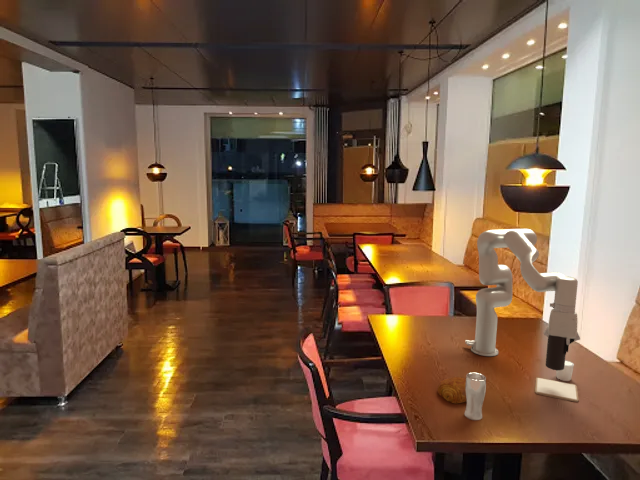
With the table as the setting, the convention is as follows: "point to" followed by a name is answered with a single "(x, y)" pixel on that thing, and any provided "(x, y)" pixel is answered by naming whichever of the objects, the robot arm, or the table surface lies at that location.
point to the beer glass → (474, 395)
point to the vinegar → (555, 352)
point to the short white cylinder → (565, 371)
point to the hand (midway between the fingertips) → (560, 352)
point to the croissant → (453, 389)
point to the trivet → (556, 389)
